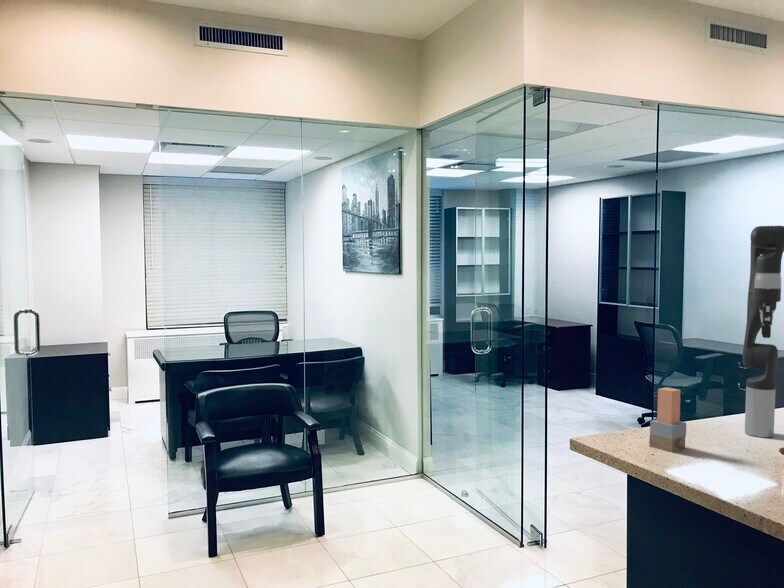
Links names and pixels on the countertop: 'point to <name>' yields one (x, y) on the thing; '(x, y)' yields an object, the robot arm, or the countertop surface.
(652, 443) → the tower bottom slab
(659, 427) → the tower top slab
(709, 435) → the countertop surface
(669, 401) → the pillar
